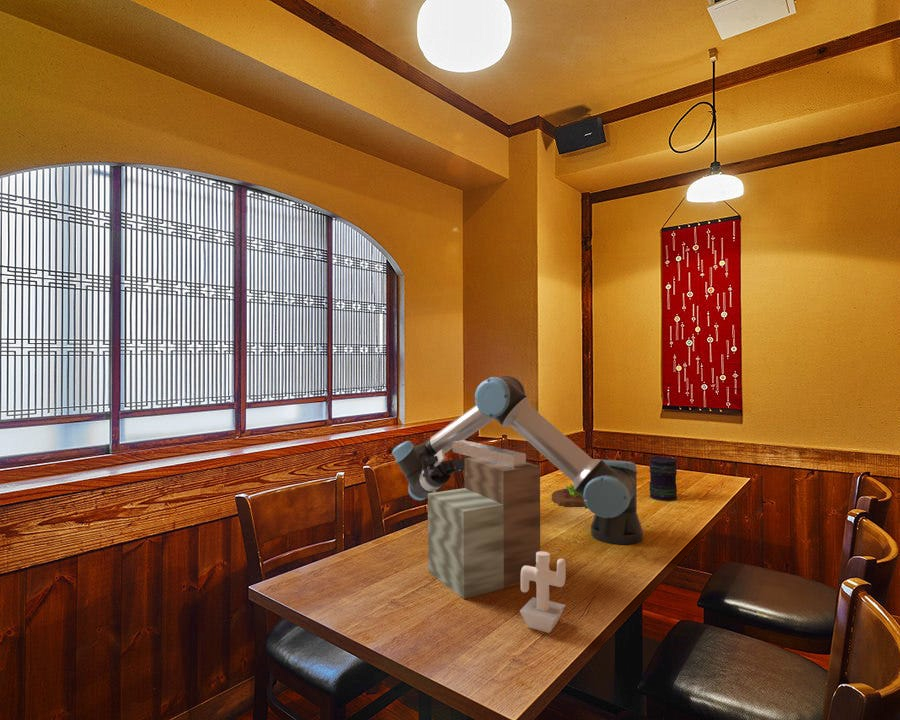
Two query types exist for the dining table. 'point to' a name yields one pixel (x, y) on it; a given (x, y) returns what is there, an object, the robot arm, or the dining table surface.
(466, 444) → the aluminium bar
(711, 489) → the dining table surface
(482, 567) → the two-step stand
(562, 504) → the plant
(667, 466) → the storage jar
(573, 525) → the dining table surface
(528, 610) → the figurine
